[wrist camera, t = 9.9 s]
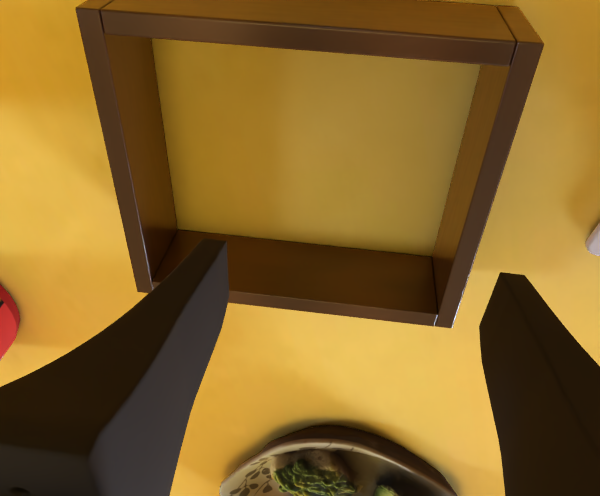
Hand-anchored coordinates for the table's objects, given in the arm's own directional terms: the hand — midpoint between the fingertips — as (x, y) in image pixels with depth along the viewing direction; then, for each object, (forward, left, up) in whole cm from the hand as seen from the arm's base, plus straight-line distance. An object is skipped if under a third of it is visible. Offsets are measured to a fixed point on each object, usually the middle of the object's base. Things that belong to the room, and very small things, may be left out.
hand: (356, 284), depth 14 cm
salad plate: (-7, +30, -11) cm, 33 cm away
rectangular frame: (+2, +2, -10) cm, 11 cm away
